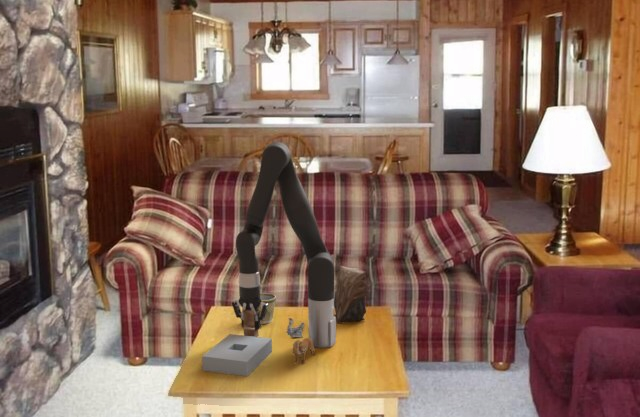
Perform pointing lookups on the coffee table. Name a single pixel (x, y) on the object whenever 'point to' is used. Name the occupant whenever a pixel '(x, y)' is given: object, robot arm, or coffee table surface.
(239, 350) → the grey rectangular block
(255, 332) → the walnut peg
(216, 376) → the coffee table surface
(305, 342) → the lion figurine
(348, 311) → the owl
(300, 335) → the driftwood
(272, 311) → the ceramic cup
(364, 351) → the coffee table surface
